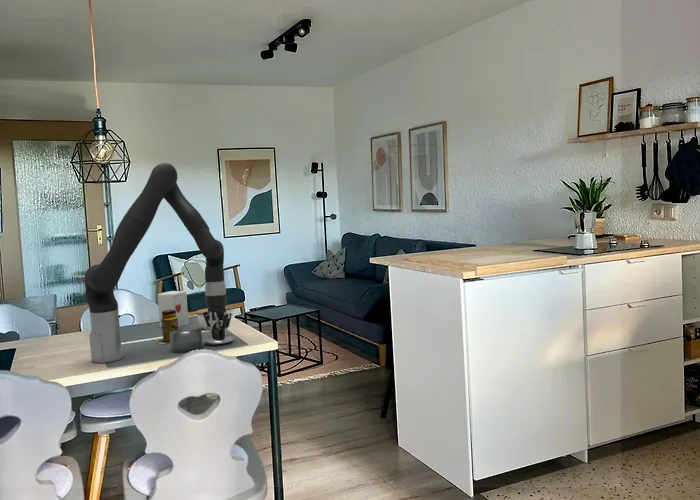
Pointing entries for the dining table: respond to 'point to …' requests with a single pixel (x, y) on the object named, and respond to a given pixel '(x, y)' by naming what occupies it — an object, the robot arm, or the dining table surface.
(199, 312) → the lidded jar
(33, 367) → the dining table surface
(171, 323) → the condiment
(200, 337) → the grey block
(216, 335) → the lid
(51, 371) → the dining table surface
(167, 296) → the supplement box
